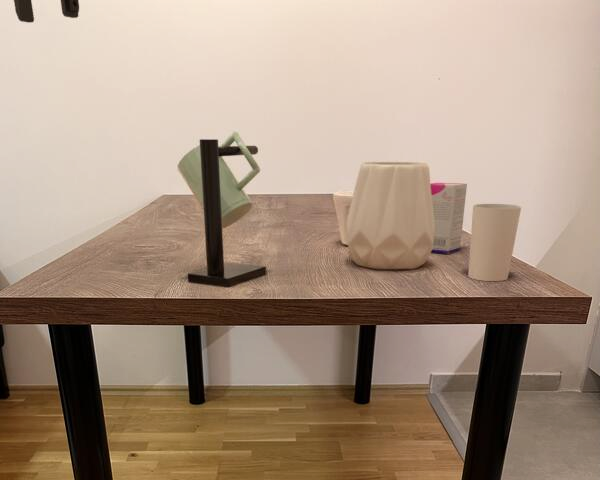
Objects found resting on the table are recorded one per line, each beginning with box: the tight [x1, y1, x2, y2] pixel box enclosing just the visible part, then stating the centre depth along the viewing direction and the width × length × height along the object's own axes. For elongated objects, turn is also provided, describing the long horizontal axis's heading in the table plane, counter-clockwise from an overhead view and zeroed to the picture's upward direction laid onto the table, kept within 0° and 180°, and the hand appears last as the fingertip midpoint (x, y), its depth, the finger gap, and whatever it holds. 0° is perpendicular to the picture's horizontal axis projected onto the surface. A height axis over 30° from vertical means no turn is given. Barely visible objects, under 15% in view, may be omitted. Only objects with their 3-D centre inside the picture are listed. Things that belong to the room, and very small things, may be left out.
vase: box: [346, 161, 435, 271], centre depth 101 cm, size 14×14×15 cm
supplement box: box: [430, 182, 468, 255], centre depth 113 cm, size 6×6×12 cm
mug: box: [177, 131, 261, 230], centre depth 91 cm, size 11×6×10 cm
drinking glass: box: [467, 203, 522, 282], centre depth 93 cm, size 7×7×10 cm
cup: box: [332, 190, 354, 247], centre depth 119 cm, size 10×10×9 cm
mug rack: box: [187, 138, 267, 288], centre depth 91 cm, size 14×7×18 cm, turn 152°
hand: (48, 19), depth 87 cm, fingers open, 8 cm apart
